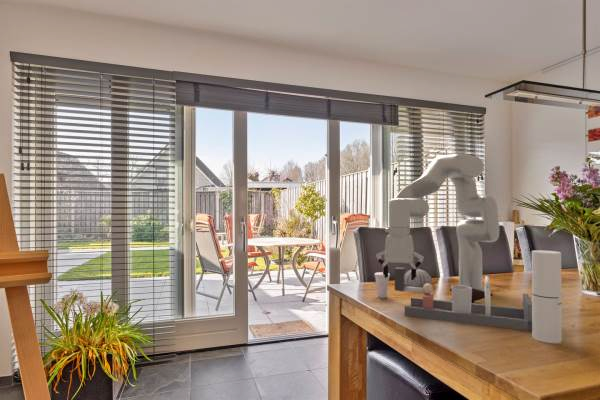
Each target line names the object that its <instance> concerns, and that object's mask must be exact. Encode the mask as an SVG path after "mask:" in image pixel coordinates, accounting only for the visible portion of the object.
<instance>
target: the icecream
mask: <svg viewBox="0 0 600 400" xmlns="http://www.w3.org/2000/svg"><path fill="white" fill-rule="evenodd" d="M469 287H472V286H469ZM449 291H450V292H451V293H452V290H451V288H450V289H449ZM492 296H494V295H493V293H491V292H490V297H492ZM483 299H485V292H484V291H481V290H477V289H474V288H472V301H471V303H475V302H477V301H480V300H483ZM450 301H452V298H451V299H450Z"/></svg>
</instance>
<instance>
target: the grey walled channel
mask: <svg viewBox="0 0 600 400" xmlns="http://www.w3.org/2000/svg"><path fill="white" fill-rule="evenodd" d="M484 288H485V298H484V303H482V304H481V303H475V302H474V303H471V313H465V312H456V311H453V309H452V301H451V300H445V299H443V300H442V299H437V298H436V299H435V298H433V309H430V308H423V297H414V296H411V297H410V305H405V306H404V316H406V317H412V318H413V317H415V318H422V319H429V320H438V321H446V322H456V323H462V324H463V323H464V324H469V325H478V326H480V325H481V326H485V327H486V326H488V327H495V328H503V329H512V330H520V331H527V332H532V298H531V297H530V295H529V294H528V293H523V294H522V307H521V308H520V307H514V306H511V307H510V306H501V305H495V304H494V305H493V304H492V305H491V303H492V302H491V300H492V299H491V296H490V293H491V284H490V277H489V275H485V277H484Z"/></svg>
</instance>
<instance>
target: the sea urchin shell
mask: <svg viewBox="0 0 600 400" xmlns="http://www.w3.org/2000/svg"><path fill="white" fill-rule="evenodd" d="M432 283H433V279H432V277H431V275H430V274H429V272H427V271H425V270H424V269H420V268H416V278H414V280H411V269H409V270H407V271H406V272H405V286H408V287H418V288H423V286H424V285H425V284H431V285H432Z"/></svg>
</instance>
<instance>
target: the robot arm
mask: <svg viewBox="0 0 600 400" xmlns="http://www.w3.org/2000/svg"><path fill="white" fill-rule="evenodd" d="M484 168H485V164H484V161H483V160H482V159H481V158H480V157H479V156H475V155H469V154H465V153H455V154H454V153H452V154H445V155H438V156H436V157H435V158H434V159H433V160H432V161H431V163H430V164H429V165H428V167H427V168H426V170H425V171H424V172H423V174H422V175H421V176H420V177H418V179H416V180H414V181H412V182H411V183H409V184H407V185H406V186H405V187H403V188H402V189H401V190H400V191H399V192H398V193H397V195H395V198H391V199H390V200H389V203H388V204H389V205H388V227H386V228H384V229H385V230H384V231H385V233H388V234H386V237H385V242H384V244H385V245H384V250H382V251H380V252H377V253H376V254H375V256H376V258H377V260H378V262H379V264H380V265H381V266H382V272H383V275H385V278H386V277H388V273H389V266H388V264H389V263H390V264H391V263H394V264H406V265H408V264H409V265H410V267H411V269H410V270H411V280H414V278H416V269H418V267H419V266H420V265H421V264H422V263H423V261H424V259H425V257H424V256H423V255H422V254H419V253H418V252H416V251H415V248H414V240H413V236H412V235H411V219H412V218H413V219H420V218H424V217H426V216H427V215H428V213H429V211H430V206H429V203H428V202H427V201H426V199H424V198H423V197H426V196H429V195H432V194H434V193H436V192H438V191H439V190H440V189H441V187H442V185H443V184H444V182H445V181H446V180H447V178H448V179H449V180H450V181H451V182H452V184H453V186H454V189H455V195H456V204H457V206H456V207H457V211H458V214H459V215H460V216H462V217H469V218H470V219H469V218H466V219H462V220H460V221H458V222H457V224H456V227H455V230H456V231H455V232H456V236H457V243H458V244H457V245H458V285H464V286H472V288H474V289H477V290H481V291H484V292H485V286H483V250H482V248H481V246H480V244H479V242H480V243H481V242H482V243H494V242H496V241H498V239H499V237H500V222H499V211H498V210H499V209H498V204H497V202H496V199H495V198H494V197H493V196H492V195H488V194H479V193H478V190H477V184H476V181H475V179H474V178H478V177H479V176H481V175H482V174H483V172H484ZM471 218H481V219H471ZM383 255H384V259H383V258H382V256H383ZM415 257H416V258H418V261H417V262H415Z"/></svg>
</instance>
